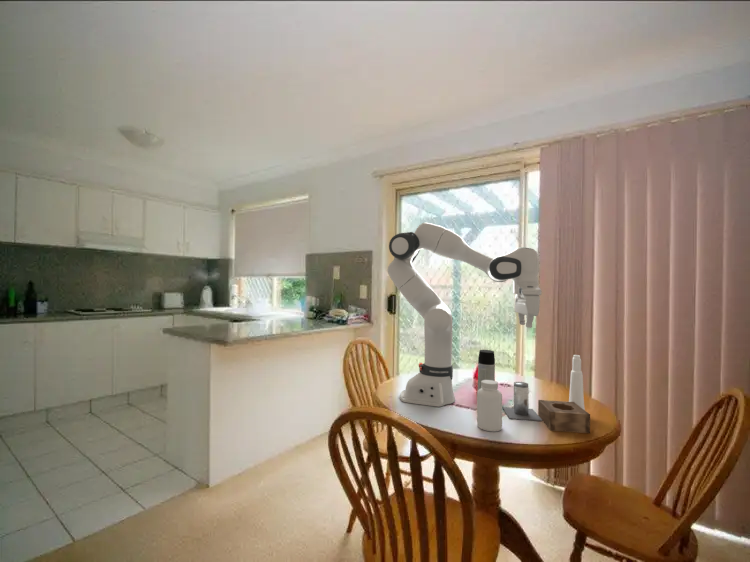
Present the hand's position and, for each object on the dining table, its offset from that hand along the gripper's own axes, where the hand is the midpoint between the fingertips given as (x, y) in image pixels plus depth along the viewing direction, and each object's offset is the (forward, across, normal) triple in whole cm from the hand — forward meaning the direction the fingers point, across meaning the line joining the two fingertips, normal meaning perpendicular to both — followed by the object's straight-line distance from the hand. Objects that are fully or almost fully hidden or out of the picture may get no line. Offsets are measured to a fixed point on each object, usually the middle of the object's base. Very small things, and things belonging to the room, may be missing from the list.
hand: (525, 326), depth 129 cm
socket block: (+32, +12, +9) cm, 35 cm away
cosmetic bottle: (+32, +1, +18) cm, 37 cm away
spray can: (+32, -10, -12) cm, 36 cm away
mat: (+32, +5, -2) cm, 32 cm away
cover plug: (+32, +5, -2) cm, 32 cm away
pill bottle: (+32, +19, -16) cm, 41 cm away
